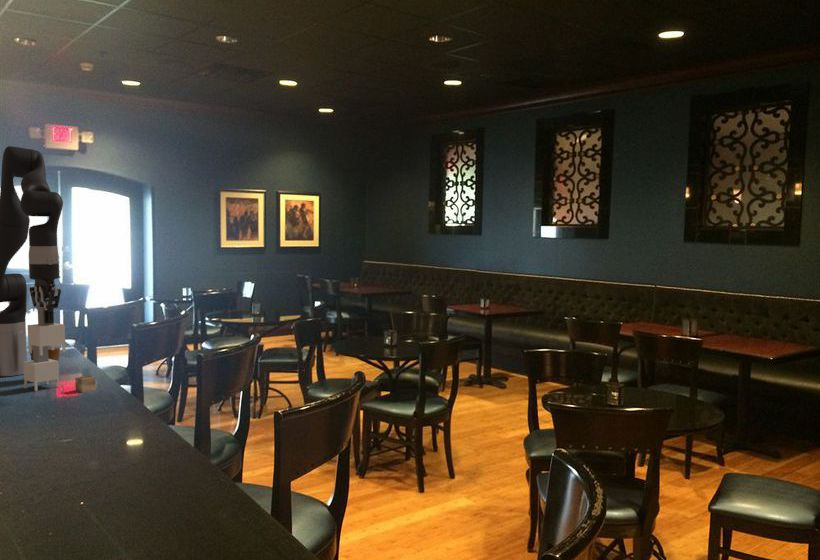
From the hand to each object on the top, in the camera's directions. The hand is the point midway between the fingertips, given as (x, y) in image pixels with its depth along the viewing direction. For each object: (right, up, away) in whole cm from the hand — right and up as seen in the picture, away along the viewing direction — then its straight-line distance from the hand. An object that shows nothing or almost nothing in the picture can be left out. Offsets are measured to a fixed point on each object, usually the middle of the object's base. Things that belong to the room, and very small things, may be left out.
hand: (46, 322), depth 196 cm
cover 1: (0, -9, +1) cm, 9 cm away
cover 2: (-7, -20, +12) cm, 24 cm away
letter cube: (+8, -21, +8) cm, 23 cm away
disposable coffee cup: (-13, -20, +24) cm, 34 cm away
